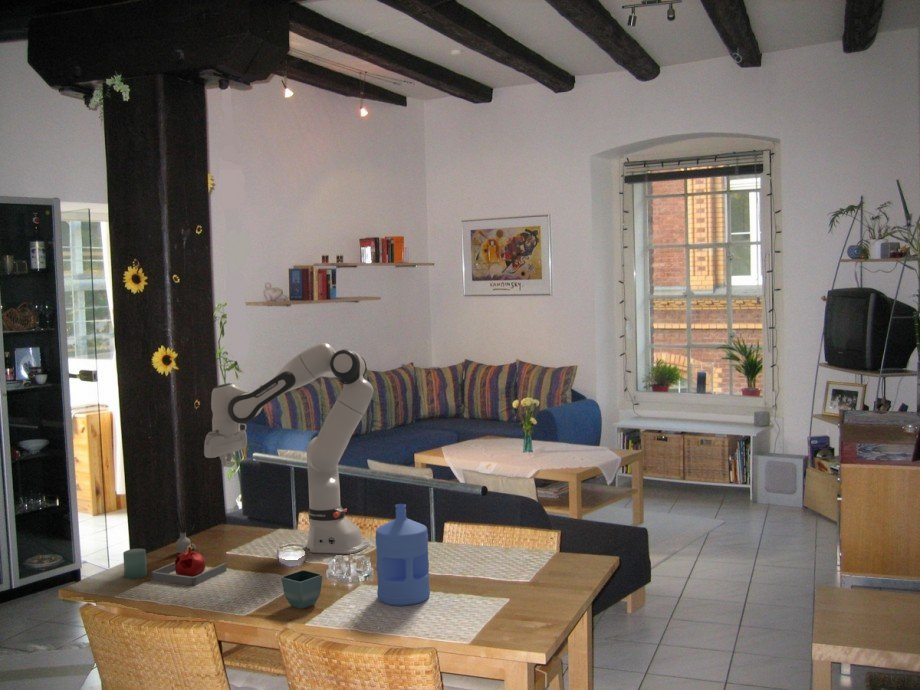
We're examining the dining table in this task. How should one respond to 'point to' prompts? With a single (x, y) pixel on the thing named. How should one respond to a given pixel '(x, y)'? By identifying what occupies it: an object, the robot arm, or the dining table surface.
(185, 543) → the reed diffuser
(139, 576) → the rounded teal cylinder
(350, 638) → the dining table surface
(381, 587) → the water jug
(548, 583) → the dining table surface
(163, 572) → the grey shallow tray frame
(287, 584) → the flower pot
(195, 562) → the pomegranate
